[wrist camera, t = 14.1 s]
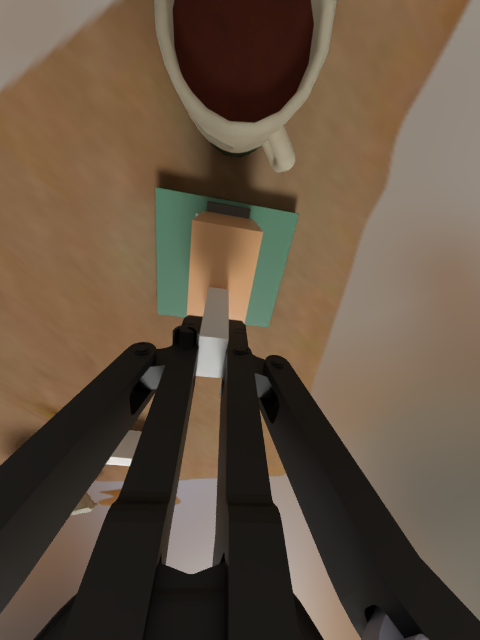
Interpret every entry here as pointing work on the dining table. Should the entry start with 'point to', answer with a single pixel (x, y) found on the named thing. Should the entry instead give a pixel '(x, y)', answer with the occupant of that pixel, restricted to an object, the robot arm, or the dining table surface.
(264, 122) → the character mug
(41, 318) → the dining table surface
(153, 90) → the dining table surface
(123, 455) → the napkin holder
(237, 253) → the block
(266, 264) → the board
